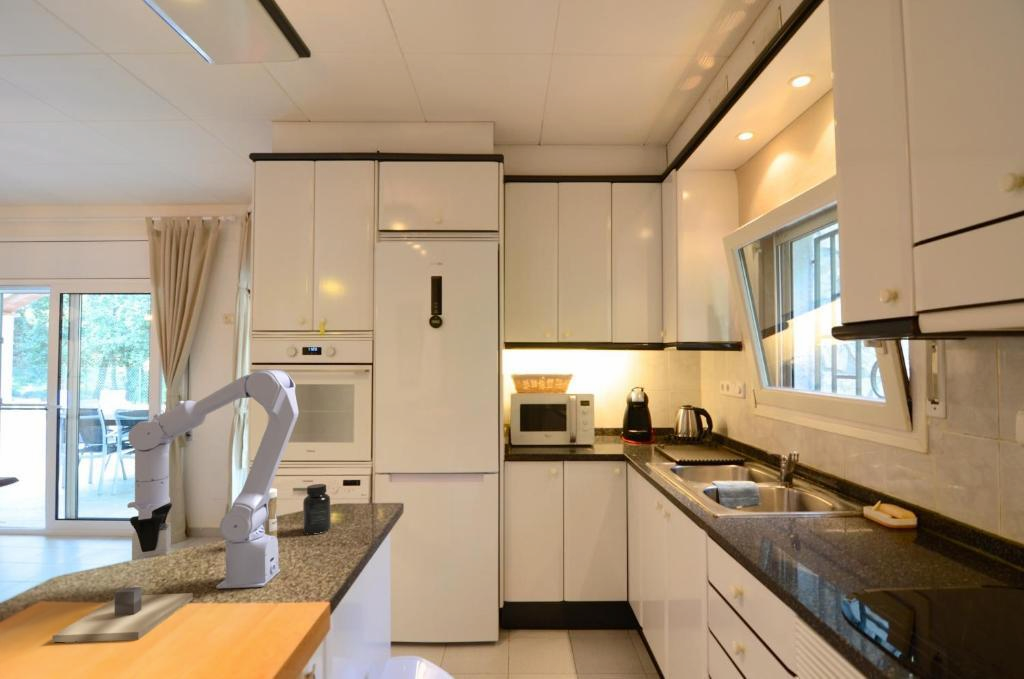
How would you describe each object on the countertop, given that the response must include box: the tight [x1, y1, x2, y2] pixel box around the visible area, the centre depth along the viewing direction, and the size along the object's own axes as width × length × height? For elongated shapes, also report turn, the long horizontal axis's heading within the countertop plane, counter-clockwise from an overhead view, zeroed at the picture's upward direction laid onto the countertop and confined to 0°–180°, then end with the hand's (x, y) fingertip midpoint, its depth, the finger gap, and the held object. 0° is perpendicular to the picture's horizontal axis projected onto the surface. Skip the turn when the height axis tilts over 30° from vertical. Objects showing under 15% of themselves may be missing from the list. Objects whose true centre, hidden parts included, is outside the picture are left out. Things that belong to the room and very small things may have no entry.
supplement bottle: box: [302, 483, 332, 535], centre depth 135 cm, size 7×7×12 cm
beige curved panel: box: [52, 586, 194, 643], centre depth 89 cm, size 14×14×5 cm
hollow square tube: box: [131, 522, 172, 561], centre depth 102 cm, size 6×6×5 cm
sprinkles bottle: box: [263, 487, 279, 541], centre depth 126 cm, size 5×5×14 cm
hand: (152, 546), depth 102 cm, fingers closed on hollow square tube, 6 cm apart
